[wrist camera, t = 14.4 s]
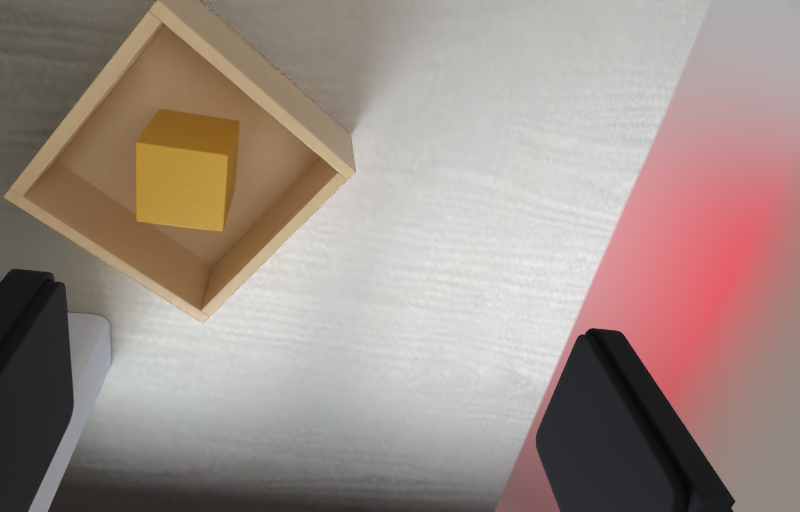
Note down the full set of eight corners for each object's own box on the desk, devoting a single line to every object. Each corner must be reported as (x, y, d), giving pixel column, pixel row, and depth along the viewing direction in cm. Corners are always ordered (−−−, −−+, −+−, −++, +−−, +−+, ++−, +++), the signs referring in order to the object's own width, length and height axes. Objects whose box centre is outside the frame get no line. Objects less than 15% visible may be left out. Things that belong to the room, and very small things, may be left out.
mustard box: (239, 120, 37) (228, 155, 32) (234, 190, 39) (223, 232, 34) (159, 108, 36) (135, 141, 31) (158, 180, 38) (135, 221, 33)
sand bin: (180, -18, 33) (157, -2, 28) (351, 136, 38) (356, 171, 34) (43, 157, 37) (2, 197, 32) (216, 274, 42) (202, 324, 38)
